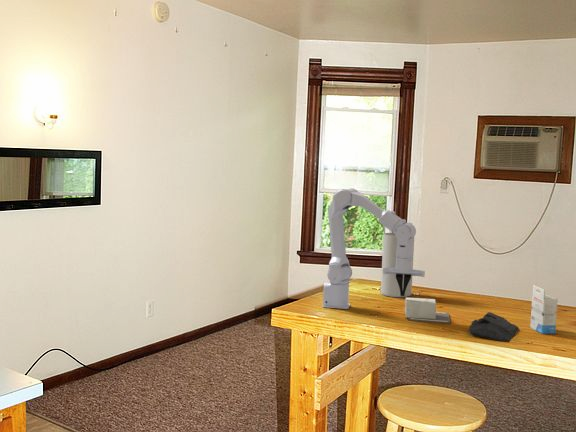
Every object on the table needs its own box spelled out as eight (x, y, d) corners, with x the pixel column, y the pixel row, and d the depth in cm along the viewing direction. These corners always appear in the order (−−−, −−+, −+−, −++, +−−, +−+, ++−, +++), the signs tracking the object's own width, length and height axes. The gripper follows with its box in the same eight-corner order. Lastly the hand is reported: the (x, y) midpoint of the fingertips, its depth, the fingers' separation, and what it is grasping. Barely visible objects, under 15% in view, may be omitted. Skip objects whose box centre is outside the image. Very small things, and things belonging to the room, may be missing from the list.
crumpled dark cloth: (460, 337, 205) (460, 322, 204) (474, 322, 224) (475, 309, 224) (510, 344, 198) (511, 329, 197) (520, 329, 217) (521, 315, 217)
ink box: (556, 334, 210) (559, 289, 209) (541, 334, 210) (544, 289, 208) (543, 327, 219) (546, 284, 217) (529, 327, 218) (532, 284, 217)
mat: (408, 320, 222) (408, 318, 222) (409, 311, 236) (409, 309, 236) (450, 323, 219) (450, 322, 219) (448, 314, 233) (448, 312, 233)
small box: (404, 317, 224) (435, 319, 222) (405, 301, 224) (436, 303, 222) (405, 312, 232) (434, 314, 230) (405, 297, 232) (435, 299, 230)
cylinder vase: (413, 298, 259) (416, 236, 257) (382, 297, 259) (385, 235, 257) (408, 292, 271) (411, 233, 269) (378, 291, 272) (381, 232, 269)
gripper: (425, 257, 229) (423, 294, 230) (384, 254, 232) (382, 291, 233) (425, 260, 222) (423, 298, 223) (383, 257, 225) (381, 295, 226)
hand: (402, 295), depth 228 cm, fingers closed
